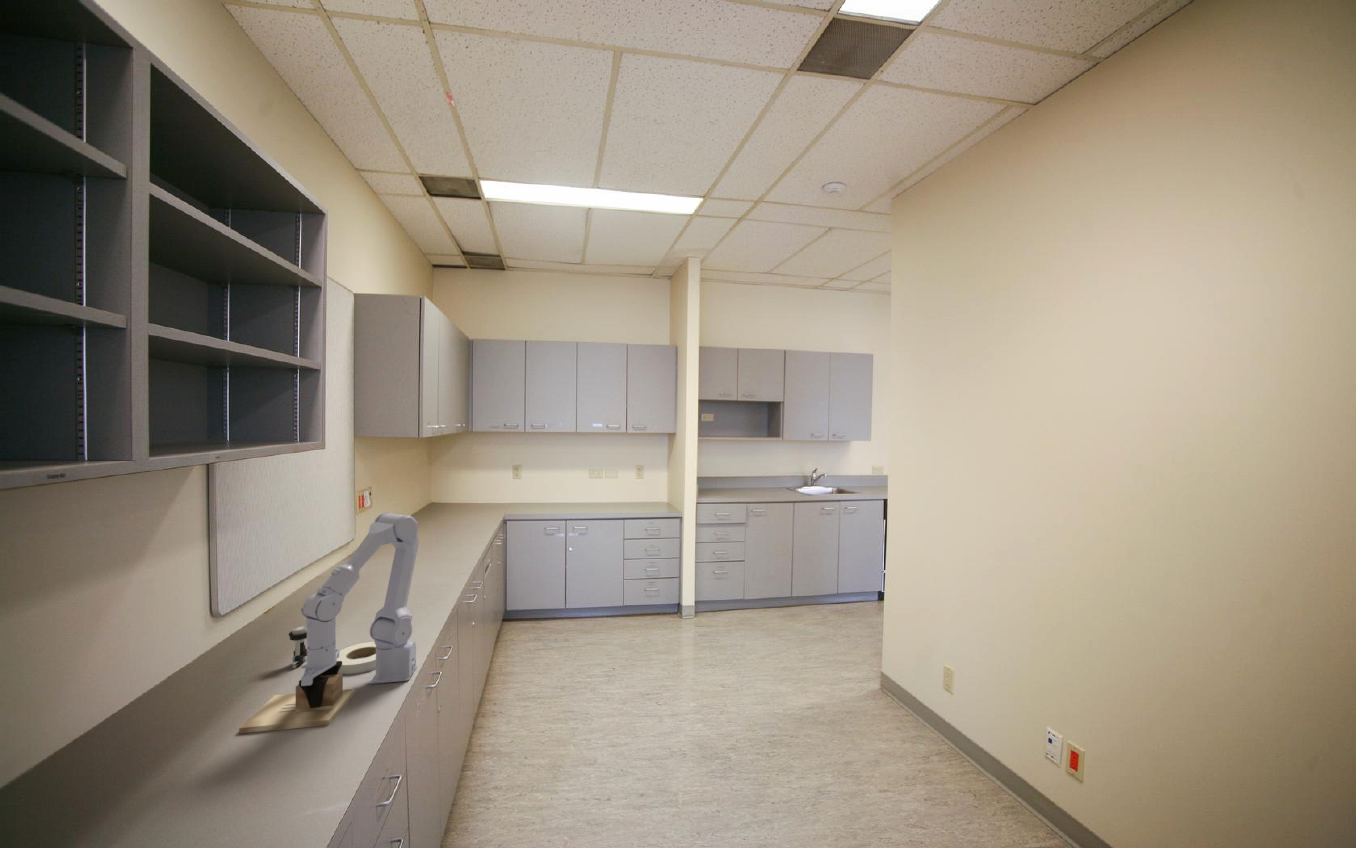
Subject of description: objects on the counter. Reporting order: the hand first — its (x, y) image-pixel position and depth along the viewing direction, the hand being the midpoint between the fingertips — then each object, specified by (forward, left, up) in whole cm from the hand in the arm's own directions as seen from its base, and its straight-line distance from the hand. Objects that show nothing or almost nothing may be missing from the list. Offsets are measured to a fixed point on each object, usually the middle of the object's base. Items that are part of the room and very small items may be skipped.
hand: (321, 700), depth 125 cm
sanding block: (0, 0, -1) cm, 1 cm away
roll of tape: (0, -26, -3) cm, 26 cm away
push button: (+17, -27, -2) cm, 32 cm away
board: (+4, 0, -2) cm, 5 cm away
